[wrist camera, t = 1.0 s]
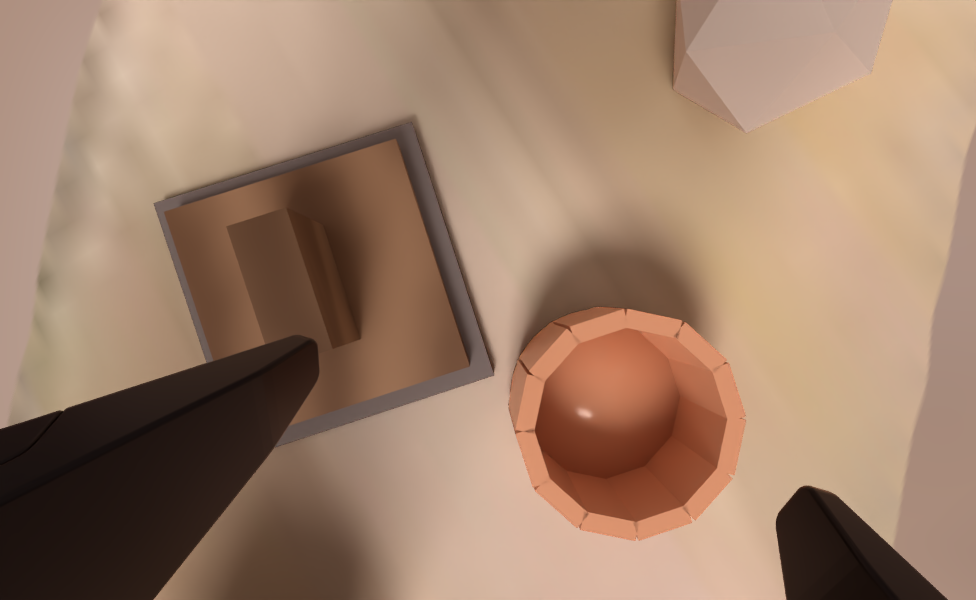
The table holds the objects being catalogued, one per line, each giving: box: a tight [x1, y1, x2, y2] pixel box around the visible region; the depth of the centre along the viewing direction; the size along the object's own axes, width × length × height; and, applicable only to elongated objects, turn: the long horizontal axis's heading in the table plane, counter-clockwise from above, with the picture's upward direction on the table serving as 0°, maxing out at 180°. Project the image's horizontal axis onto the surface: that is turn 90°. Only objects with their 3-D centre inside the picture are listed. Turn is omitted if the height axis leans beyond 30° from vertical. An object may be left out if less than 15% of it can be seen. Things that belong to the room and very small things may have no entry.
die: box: [673, 0, 892, 133], centre depth 19 cm, size 8×9×10 cm
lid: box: [164, 139, 470, 426], centre depth 19 cm, size 12×12×5 cm
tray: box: [154, 122, 494, 448], centre depth 22 cm, size 14×14×1 cm
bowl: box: [508, 307, 746, 541], centre depth 20 cm, size 10×10×5 cm
